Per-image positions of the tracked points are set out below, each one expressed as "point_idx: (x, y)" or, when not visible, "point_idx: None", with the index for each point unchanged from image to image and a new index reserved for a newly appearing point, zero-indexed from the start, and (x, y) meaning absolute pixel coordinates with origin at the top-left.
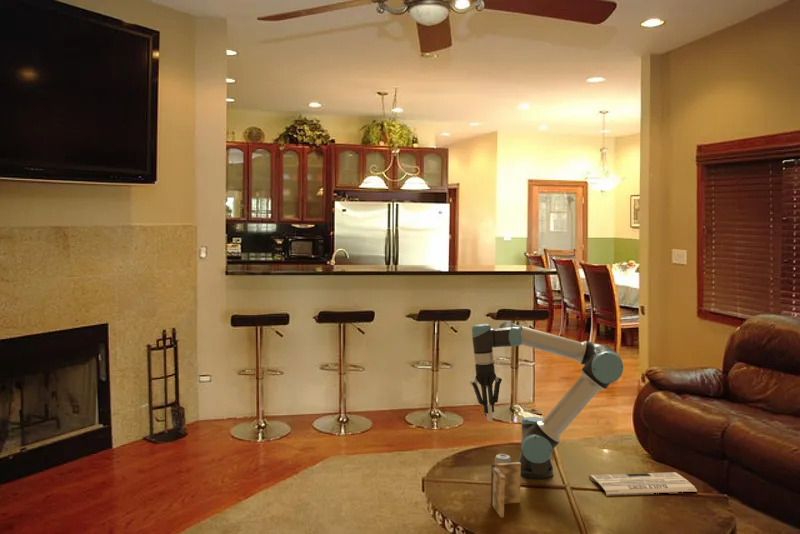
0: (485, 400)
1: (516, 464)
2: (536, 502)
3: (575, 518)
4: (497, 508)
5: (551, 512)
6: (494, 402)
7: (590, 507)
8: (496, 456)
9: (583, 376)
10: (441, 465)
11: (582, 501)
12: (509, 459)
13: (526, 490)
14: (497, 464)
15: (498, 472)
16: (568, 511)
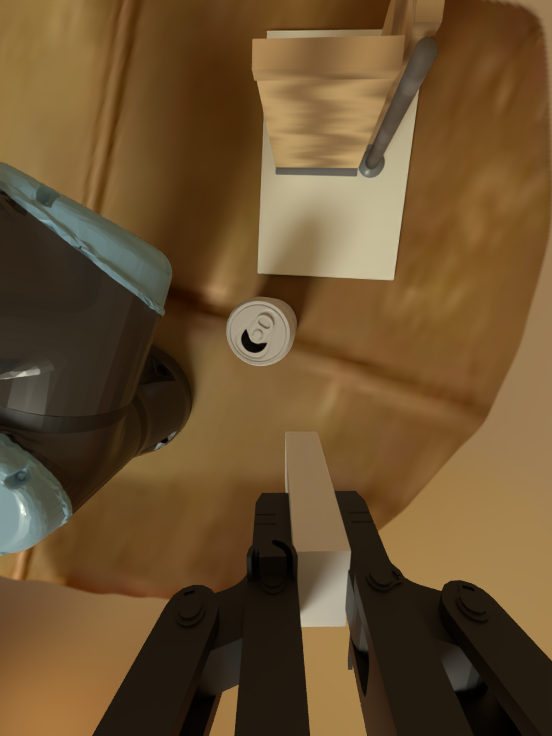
0: (420, 657)
1: (282, 41)
2: (215, 171)
3: (136, 17)
4: None
5: (196, 81)
6: (229, 599)
7: (61, 98)
8: (286, 340)
9: None
10: (399, 509)
11: (70, 150)
12: (237, 310)
13: (211, 270)
14: (400, 46)
15: None
16: (139, 79)
